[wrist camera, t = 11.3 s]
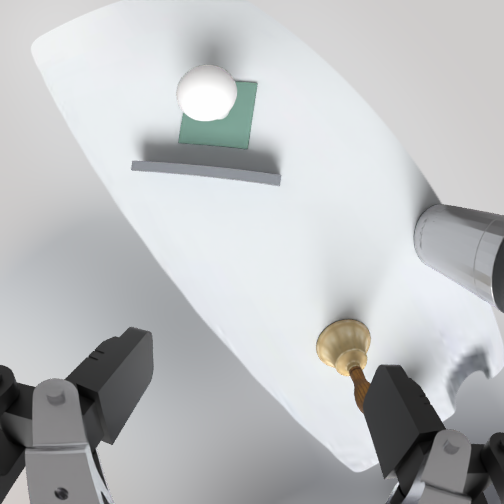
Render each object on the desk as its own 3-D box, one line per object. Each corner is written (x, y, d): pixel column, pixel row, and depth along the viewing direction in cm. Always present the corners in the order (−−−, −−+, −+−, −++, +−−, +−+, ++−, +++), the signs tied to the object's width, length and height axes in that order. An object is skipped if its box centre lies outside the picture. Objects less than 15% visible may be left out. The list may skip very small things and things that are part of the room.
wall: (280, 176, 35) (281, 175, 31) (279, 186, 35) (279, 185, 31) (145, 162, 35) (132, 160, 32) (144, 171, 36) (131, 170, 32)
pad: (257, 84, 32) (257, 83, 32) (247, 149, 34) (247, 148, 34) (190, 80, 33) (189, 79, 32) (179, 143, 35) (178, 142, 34)
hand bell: (339, 309, 38) (372, 377, 22) (380, 334, 38) (422, 401, 23) (304, 352, 40) (316, 431, 24) (346, 374, 40) (370, 449, 25)
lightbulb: (202, 88, 32) (175, 54, 22) (248, 93, 32) (238, 57, 21) (193, 131, 34) (161, 111, 23) (240, 137, 34) (225, 116, 23)
